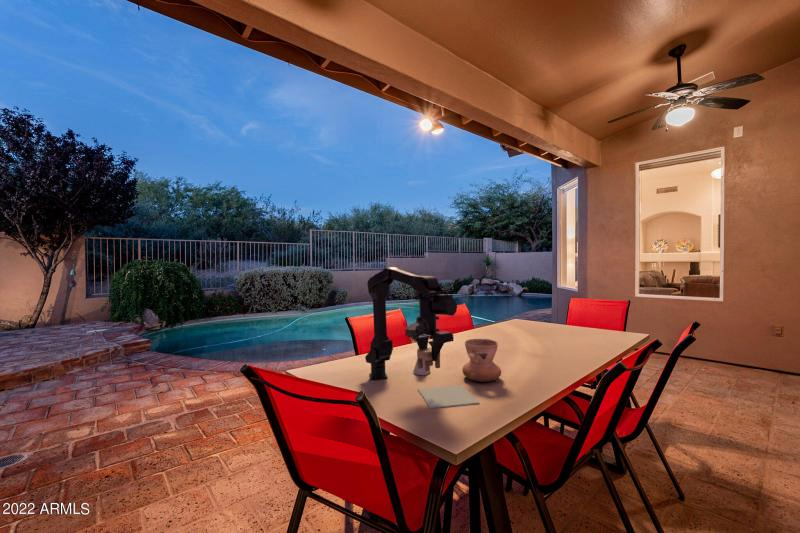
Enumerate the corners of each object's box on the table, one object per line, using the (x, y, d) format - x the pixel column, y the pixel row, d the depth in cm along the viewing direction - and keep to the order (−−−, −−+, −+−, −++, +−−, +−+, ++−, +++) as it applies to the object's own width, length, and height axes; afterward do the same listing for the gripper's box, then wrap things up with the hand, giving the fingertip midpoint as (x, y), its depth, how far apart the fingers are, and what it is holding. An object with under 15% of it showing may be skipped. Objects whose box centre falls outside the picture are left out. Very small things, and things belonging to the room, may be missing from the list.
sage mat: (417, 389, 119) (417, 388, 119) (461, 386, 122) (460, 384, 122) (430, 408, 103) (430, 407, 103) (479, 403, 106) (479, 402, 106)
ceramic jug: (488, 389, 118) (488, 349, 118) (453, 380, 128) (453, 343, 128) (510, 376, 131) (509, 340, 131) (476, 369, 141) (476, 335, 141)
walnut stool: (430, 364, 118) (430, 347, 118) (440, 367, 114) (440, 349, 114) (417, 367, 114) (417, 350, 114) (427, 371, 110) (426, 352, 110)
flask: (429, 376, 133) (429, 351, 133) (411, 375, 135) (411, 350, 135) (431, 370, 140) (431, 346, 140) (414, 369, 142) (414, 346, 142)
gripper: (392, 313, 117) (393, 358, 117) (428, 318, 102) (429, 370, 102) (417, 310, 124) (418, 352, 123) (454, 315, 109) (455, 363, 108)
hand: (429, 359), depth 114 cm, fingers closed on walnut stool, 5 cm apart
